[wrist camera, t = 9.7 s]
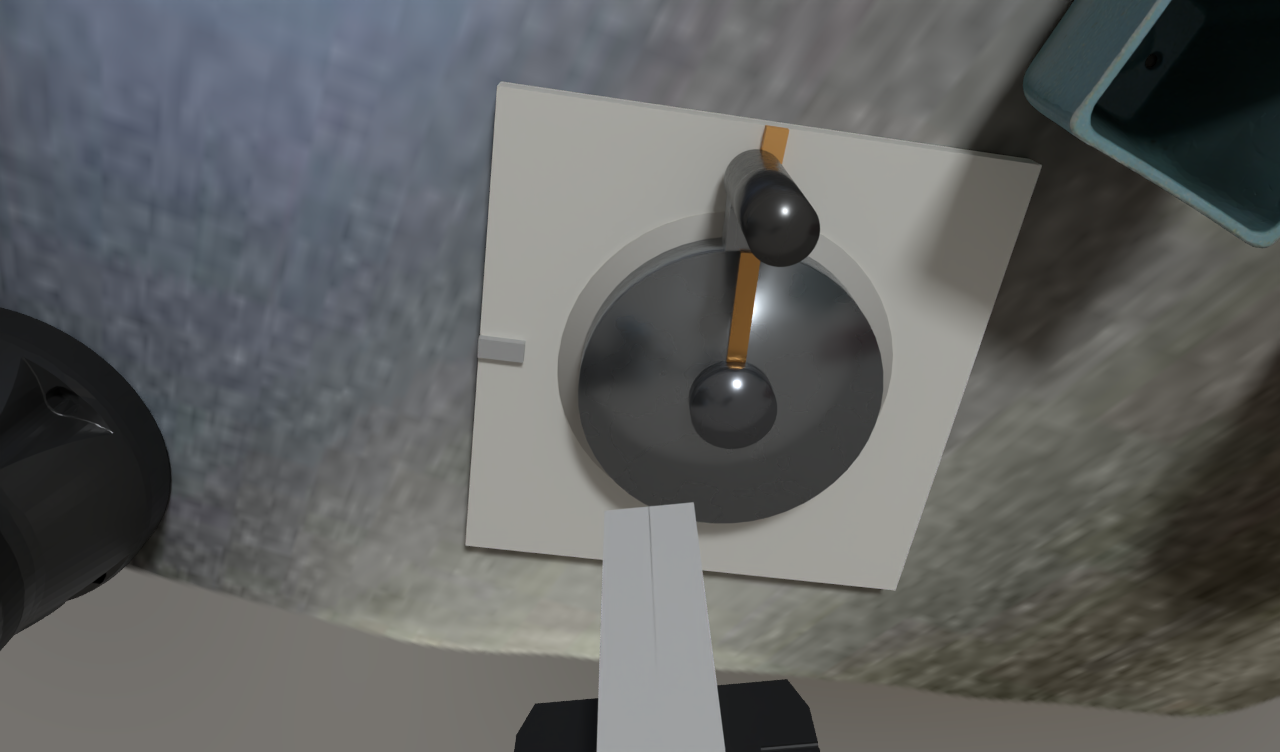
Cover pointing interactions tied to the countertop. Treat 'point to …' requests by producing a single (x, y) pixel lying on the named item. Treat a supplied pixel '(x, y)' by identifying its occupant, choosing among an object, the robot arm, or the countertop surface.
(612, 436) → the dial
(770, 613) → the countertop surface
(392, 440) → the countertop surface
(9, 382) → the robot arm
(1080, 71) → the flower pot
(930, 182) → the panel
